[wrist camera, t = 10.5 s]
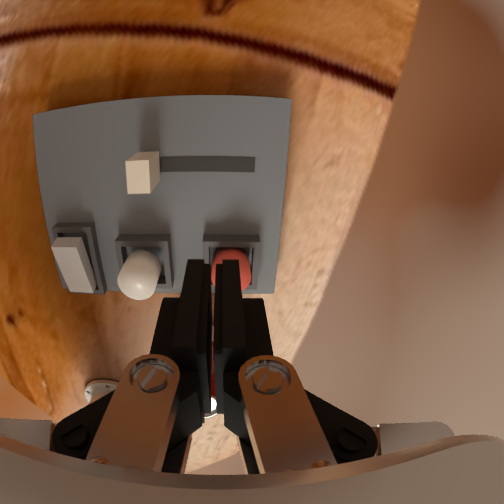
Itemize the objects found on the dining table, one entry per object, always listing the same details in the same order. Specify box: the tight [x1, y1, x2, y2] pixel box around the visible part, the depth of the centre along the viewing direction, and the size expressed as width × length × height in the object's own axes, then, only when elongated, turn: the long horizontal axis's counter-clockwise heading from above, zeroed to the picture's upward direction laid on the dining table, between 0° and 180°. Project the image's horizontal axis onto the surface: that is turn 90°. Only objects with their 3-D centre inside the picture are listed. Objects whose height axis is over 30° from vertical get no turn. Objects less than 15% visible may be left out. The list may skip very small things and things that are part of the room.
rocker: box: [51, 237, 97, 293], centre depth 29 cm, size 7×3×2 cm, turn 177°
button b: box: [117, 250, 161, 300], centre depth 29 cm, size 4×4×3 cm
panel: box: [33, 95, 292, 295], centre depth 30 cm, size 21×26×5 cm
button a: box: [211, 247, 251, 291], centre depth 31 cm, size 4×4×3 cm
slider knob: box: [125, 151, 160, 194], centre depth 25 cm, size 3×2×4 cm
